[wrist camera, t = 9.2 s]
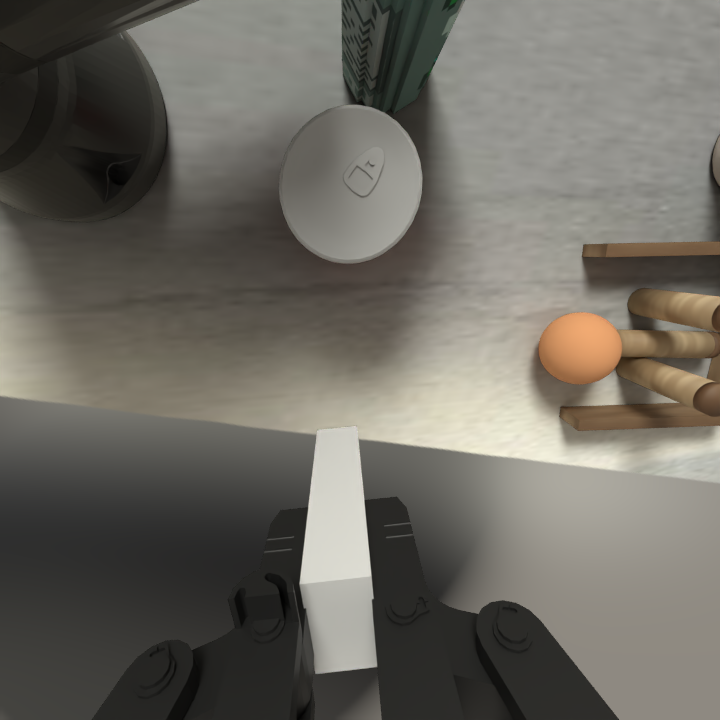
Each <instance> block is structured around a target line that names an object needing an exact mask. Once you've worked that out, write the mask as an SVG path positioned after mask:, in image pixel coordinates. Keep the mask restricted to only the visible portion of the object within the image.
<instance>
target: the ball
mask: <svg viewBox="0 0 720 720" xmlns="http://www.w3.org/2000/svg"><path fill="white" fill-rule="evenodd" d="M621 353H622V342H621V338H620V335H619V333H618V332H617V330H616V329H615V327H614V326H613V325H612V324H611V323H610V322H609V321H607V320H606V319H604V318H602V317H600V316H598V315H595V314H591V313H583V312H581V313H571V314H567V315H564V316H562V317H560V318H558V319H556V320H555V321H553V322H552V323H551V324H550V325H549V326H548V327H547V328H546V329H545V330H544V332H543V334H542V336H541V338H540V341H539V356H540V360H541V362H542V364H543V366H544V367H545V369H546V370H547V371H548V372H549V373H550V374H551V375H552V376H554V377H555V378H557V379H559V380H561V381H564V382H567V383H571V384H588V383H593V382H596V381H599V380H601V379H602V378H604V377H606V376H607V375H609V374H610V373H611V372H612V371H613V370H614V368H615V367H616V366H617V364H618V362H619V360H620V358H621Z"/></svg>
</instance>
